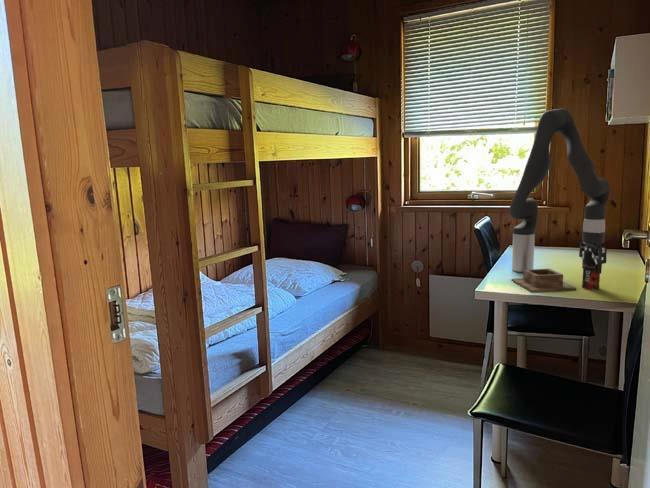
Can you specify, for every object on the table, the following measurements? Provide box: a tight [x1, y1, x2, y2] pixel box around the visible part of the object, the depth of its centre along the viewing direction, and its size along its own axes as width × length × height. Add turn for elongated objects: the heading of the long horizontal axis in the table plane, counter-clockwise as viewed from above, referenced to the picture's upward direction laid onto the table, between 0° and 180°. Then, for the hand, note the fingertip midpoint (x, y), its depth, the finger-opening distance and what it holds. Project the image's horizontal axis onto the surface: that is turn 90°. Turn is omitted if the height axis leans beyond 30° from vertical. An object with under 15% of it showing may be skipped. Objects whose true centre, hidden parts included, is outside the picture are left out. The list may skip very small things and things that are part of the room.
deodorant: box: [581, 250, 601, 291], centre depth 193 cm, size 6×6×15 cm
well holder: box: [511, 268, 577, 293], centre depth 200 cm, size 18×18×6 cm
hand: (591, 271), depth 193 cm, fingers open, 8 cm apart
